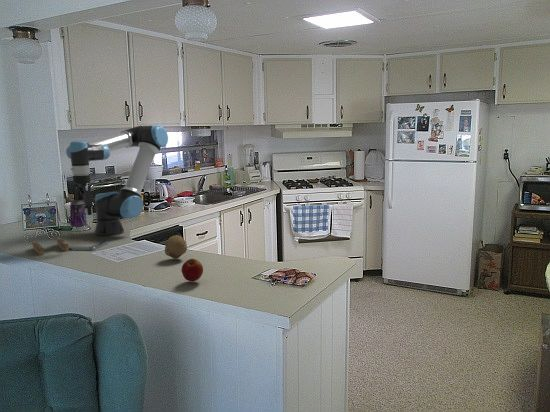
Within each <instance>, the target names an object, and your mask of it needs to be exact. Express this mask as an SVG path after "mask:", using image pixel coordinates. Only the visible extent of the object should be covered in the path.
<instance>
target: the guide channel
mask: <svg viewBox="0 0 550 412" xmlns="http://www.w3.org/2000/svg"><path fill="white" fill-rule="evenodd" d="M31 244H32V250H33V251H35V252H36V254H38V255H39V257H40V256H44V253H45V252H44V247H43V246H42V245H41V244H40V243H38V242H37V241H36V240H35V241H34V240H33V241H31ZM56 246H57V247H59V248H60V249H61V250H63V252H65V253H66V252H69V251H70V250H69V243H68V242H66V241H65V240H63V239H62V238H61V237H57V238H56Z"/></svg>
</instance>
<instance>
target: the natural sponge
mask: <svg viewBox="0 0 550 412" xmlns="http://www.w3.org/2000/svg"><path fill="white" fill-rule="evenodd" d="M187 250H188V246H187V242H186V240H185V238H183V237H182V236H181V235H172V236H170V237H169V238H168V239H167V240H166V243H165V247H164V253H165V255H166V256H168V257H170V258H172V259H179V258H180V257H181V256H182V255H185V253H186V252H187Z"/></svg>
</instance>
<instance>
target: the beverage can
mask: <svg viewBox="0 0 550 412" xmlns="http://www.w3.org/2000/svg"><path fill="white" fill-rule="evenodd" d="M84 207H85V203H84V199H83V200H75V199H73V200H71V201H70V205H69V219H70V223H69V224H70V226H71V227H75V228H82V227H85V226H86V225H87V223H88V222H86V211H85V208H84Z"/></svg>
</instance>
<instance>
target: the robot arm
mask: <svg viewBox="0 0 550 412" xmlns="http://www.w3.org/2000/svg"><path fill="white" fill-rule="evenodd" d="M168 141H169V136H168V132H167V130H166V129H165V127H164V126H162V125H158V124H153V125H137V126H134V127H131V128H128V129H123V130H121V131H120V132H119V133H116V134H112V135H109V136H105V137H101V138H98V139H94V140H93V139H92V140H90V141H87V140H80V141H79V140H78V141H77V140H76V141H74V140H73V141H71V142H70V143H69V145H68V146H67V148H66V150H65V151H66V156H67V157H68V159H70V163H71V164H70V165H71V168H70V170H71V173H72V174H71V175H73V176H72V182H73V183H72V184H75V199H74V200H84V203H85V207H84V208H85V211H86V222H87V223H92V222H94V217H93V207H94V204H95V214H96V224H95V228H94V231H93V232H94V233H93V234H94V236H95V237H115V236H119V235H122V234H124V233H125V229H124V227H123V224H122V221H121V218H124V219H135V218H137V217H139V216H140V215H141V213H142V212H143V209H144V201H143V199H142V198H143V195H142V190H143V187H144V186H145V182H146V181H147V180H146V179H147V177H148V174H149V171H150V169H151V167H152V164H153V161H154V158H155V155H156V154H159V153H160V150H161V148H164V147H166V146H167V144H168ZM132 147H133V148H134V147H138V148H139V150H138V152H137V154H136V157H135V159H134V162H133V165H132V166H131V169H130V172H129V174H128V177H127V180H126V182H125V185H124V187H122V188H120V190H119V192H118V191H110V192H103V193H97V194H96V195H95V201H94V202H93V199H92V194H91V189H90V188H91V187H90V185H88V184H90V183H91V182H92V181H91V175H90V174H91V171H90V170H91V169H90V167H91V166H90V162H91V161H92V162H93V161H95V162H97V161H104V160H108V159H109V157H110V155H111V151H115V150H119V149H122V148H126V149H128V148H132Z"/></svg>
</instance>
